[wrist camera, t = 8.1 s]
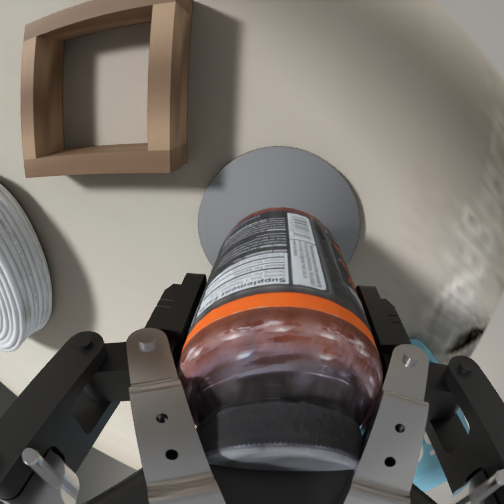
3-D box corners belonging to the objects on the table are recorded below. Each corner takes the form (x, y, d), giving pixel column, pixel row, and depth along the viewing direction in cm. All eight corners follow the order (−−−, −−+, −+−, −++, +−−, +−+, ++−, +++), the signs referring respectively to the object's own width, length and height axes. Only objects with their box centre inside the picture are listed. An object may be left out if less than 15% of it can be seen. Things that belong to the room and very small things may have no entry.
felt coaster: (199, 142, 18) (197, 143, 17) (368, 155, 17) (371, 157, 17) (202, 287, 22) (200, 292, 22) (342, 298, 22) (344, 302, 21)
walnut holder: (53, 30, 14) (25, 25, 11) (192, 0, 14) (177, -18, 11) (53, 166, 19) (25, 177, 16) (186, 161, 18) (170, 173, 15)
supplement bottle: (344, 298, 16) (391, 502, 6) (237, 316, 17) (201, 516, 7) (330, 190, 14) (432, 396, 4) (205, 216, 15) (93, 422, 5)
